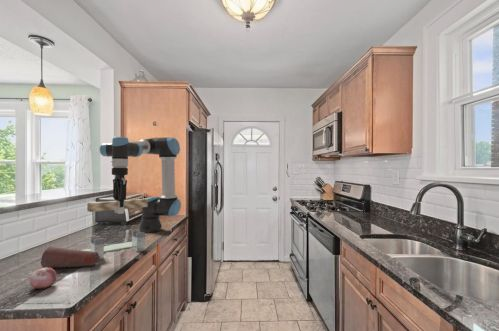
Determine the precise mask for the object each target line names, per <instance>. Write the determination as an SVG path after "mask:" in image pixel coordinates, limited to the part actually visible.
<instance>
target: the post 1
mask: <svg viewBox="0 0 499 331" xmlns="http://www.w3.org/2000/svg"><path fill="white" fill-rule="evenodd" d="M104 246H105V238H104V237H101V235H96V236H90V246H89V247H90V248H89V249H90V251H92V252H97V253H98V255H99V256H100V259H99V260H103V259H104V257H105V256H104V253H105V252H104Z"/></svg>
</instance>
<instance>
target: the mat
mask: <svg viewBox="0 0 499 331" xmlns="http://www.w3.org/2000/svg"><path fill="white" fill-rule="evenodd" d="M125 249H132V241H128V242H122V243H115V244H110V245H109V244H108V245H104V253H108V252H114V251H118V250H119V251H120V250H125ZM81 250H82V251H90V248H86V249H81Z"/></svg>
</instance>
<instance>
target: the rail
mask: <svg viewBox="0 0 499 331" xmlns="http://www.w3.org/2000/svg"><path fill="white" fill-rule="evenodd" d="M86 204H87V208H86V209H87V210H86V212H89V213H93V212H104V211H115V210H117V209H118V201H115V200H108V201H107V200H106V201H104V200H103V201H94V202H92V201H91V202H87V203H86ZM142 207H148V199H144V198H138V199H137V198H134V199H126V200H124V210H125V209H137V208H142Z"/></svg>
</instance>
